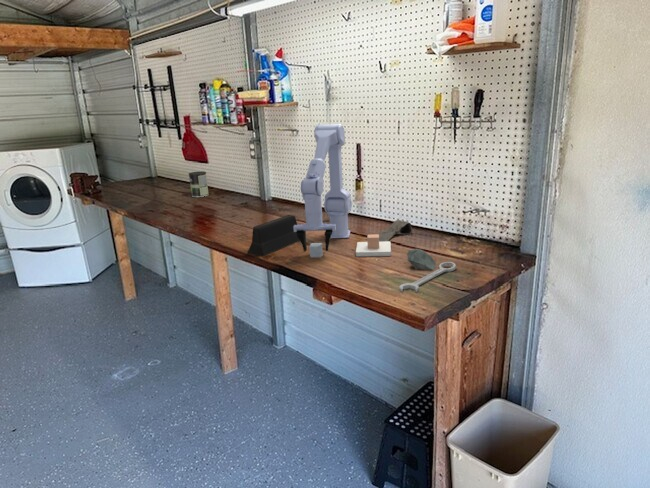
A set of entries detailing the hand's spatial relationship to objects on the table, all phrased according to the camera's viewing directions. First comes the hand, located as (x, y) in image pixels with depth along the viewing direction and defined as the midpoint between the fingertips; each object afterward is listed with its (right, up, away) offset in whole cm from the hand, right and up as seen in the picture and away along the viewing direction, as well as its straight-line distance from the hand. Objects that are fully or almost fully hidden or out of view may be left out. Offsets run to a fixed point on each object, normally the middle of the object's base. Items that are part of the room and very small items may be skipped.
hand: (316, 250), depth 166 cm
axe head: (+28, +4, +17) cm, 33 cm away
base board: (+20, 0, +2) cm, 20 cm away
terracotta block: (+20, +1, +1) cm, 20 cm away
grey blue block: (0, -2, +1) cm, 2 cm away
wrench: (+34, -9, -26) cm, 44 cm away
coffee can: (-73, +32, +124) cm, 147 cm away
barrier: (-15, +1, +15) cm, 21 cm away
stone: (+35, -5, -15) cm, 38 cm away
